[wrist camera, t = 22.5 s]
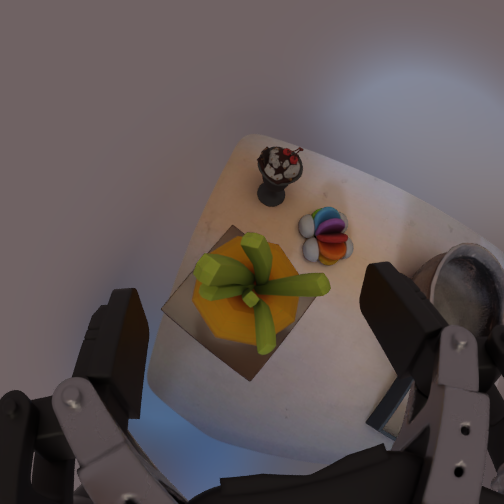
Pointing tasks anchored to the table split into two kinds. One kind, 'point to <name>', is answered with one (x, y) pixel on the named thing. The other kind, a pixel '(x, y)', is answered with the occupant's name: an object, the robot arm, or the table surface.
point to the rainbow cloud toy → (325, 236)
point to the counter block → (191, 321)
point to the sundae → (277, 173)
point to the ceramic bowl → (465, 287)
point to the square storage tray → (389, 405)
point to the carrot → (251, 291)
